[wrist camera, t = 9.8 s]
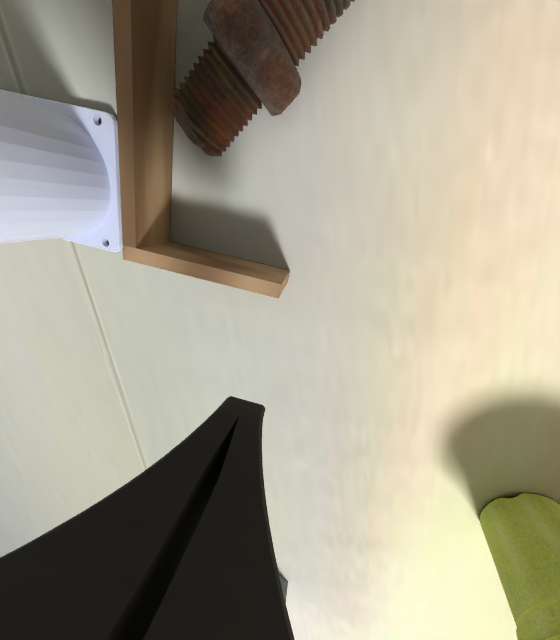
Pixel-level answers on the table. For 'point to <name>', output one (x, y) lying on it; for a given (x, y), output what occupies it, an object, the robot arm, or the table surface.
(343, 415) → the table surface
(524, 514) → the plant pot
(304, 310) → the table surface
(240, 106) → the bolt
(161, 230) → the frame
